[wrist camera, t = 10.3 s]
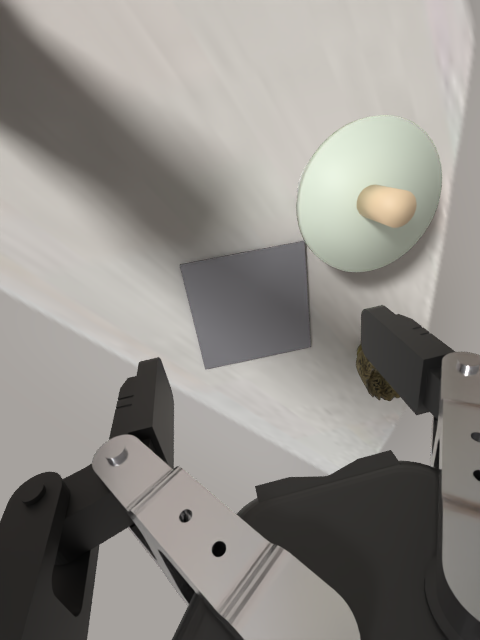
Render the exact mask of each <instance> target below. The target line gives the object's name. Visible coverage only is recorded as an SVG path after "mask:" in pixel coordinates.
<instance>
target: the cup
mask: <svg viewBox="0 0 480 640" xmlns="http://www.w3.org/2000/svg"><path fill="white" fill-rule="evenodd" d="M356 367H357V371H358V373H359V375H360V377H361V379H362V381H363V383H364V385H365V386H366V388H367V390H368V392H369V394H370V395H371V396H372V397H374V396H375V397H376V398H377V399H378V400H380V398H383V399H384V400H388V401H391V400H392V399H393V398H394V397H396V398H399V397H400V396H399V395H398V393H397V392H396V391H395V390H394V389H393V388H392V387H391V385H390V384H389V383H388V382H387V381H386V380H385V379H384V377H383V376H382V375H381V374H380V373H379V372H378V371H377V369H376V368H375V367H374V366H373V365H372V364H371V363H370V362H369V360H368V359H367V358H366V357H365V355H364V353H363V350H362V347H361V345H360V346H359V347H358V349H357V360H356Z"/></svg>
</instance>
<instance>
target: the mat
mask: <svg viewBox="0 0 480 640" xmlns="http://www.w3.org/2000/svg"><path fill="white" fill-rule="evenodd" d="M180 268H181V272H182V276H183V280H184V285H185V289H186V293H187V297H188V301H189V305H190V309H191V313H192V317H193V321H194V325H195V329H196V333H197V337H198V341H199V346H200V350H201V354H202V358H203V362H204V366H205V369H210V368H214V367H219V366H224V365H228V364H233V363H238V362H243V361H247V360H252V359H257V358H261V357H266V356H271V355H276V354H280V353H285V352H290V351H294V350H299V349H304V348H309V347H311V341H310V324H309V307H308V291H307V274H306V258H305V242H304V241H300V242H295V243H290V244H284V245H279V246H274V247H269V248H264V249H258V250H253V251H248V252H243V253H238V254H232V255H227V256H222V257H217V258H211V259H206V260H201V261H196V262H191V263H185V264H180Z"/></svg>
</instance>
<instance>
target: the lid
mask: <svg viewBox="0 0 480 640" xmlns="http://www.w3.org/2000/svg"><path fill="white" fill-rule="evenodd" d="M441 187H442V170H441V163H440V158H439V155H438V152H437V150H436V147H435V145H434V144H433V142H432V140H431V139H430V137H429V136H428V135H427V133H426V132H425V131H424V130H423V129H421V128H420V127H419V126H418V125H416V124H415V123H413V122H412V121H409V120H407V119H404V118H402V117H397V116H390V115H380V116H372V117H366V118H363V119H359V120H356V121H354V122H351V123H349V124H347V125H345V126H343V127H342V128H340V129H338V130H337V131H336V132H334V133H333V134H332V135H331V136H329V137H328V138H327V139H326V140H325V141H324V142H323V143H322V144H321V145H320V147H319V148H318V149H317V150H316V152H315V153H314V154H313V156H312V158H311V159H310V161H309V162H308V164H307V166H306V168H305V171H304V173H303V175H302V178H301V181H300V184H299V189H298V194H297V203H296V209H297V220H298V225H299V229H300V232H301V234H302V237H303V239H304V241H305V242H306V244H307V246H308V247H309V248H310V250H311V251H312V252H313V253H314V254H315V255H316V256H317V257H319V258H320V259H321V260H322V261H323V262H325V263H326V264H328V265H330V266H332V267H334V268H336V269H339V270H343V271H347V272H366V271H371V270H375V269H378V268H381V267H383V266H386V265H388V264H390V263H392V262H394V261H395V260H397V259H398V258H400V257H401V256H403V255H404V254H405V253H406V252H407V251H408V250H410V249H411V248H412V247H413V246H414V245H415V244H416V243H417V241H418V240H419V239H420V238H421V236H422V235H423V234H424V232H425V231H426V229H427V227H428V226H429V224H430V222H431V220H432V218H433V216H434V214H435V211H436V209H437V206H438V202H439V198H440V193H441Z"/></svg>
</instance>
